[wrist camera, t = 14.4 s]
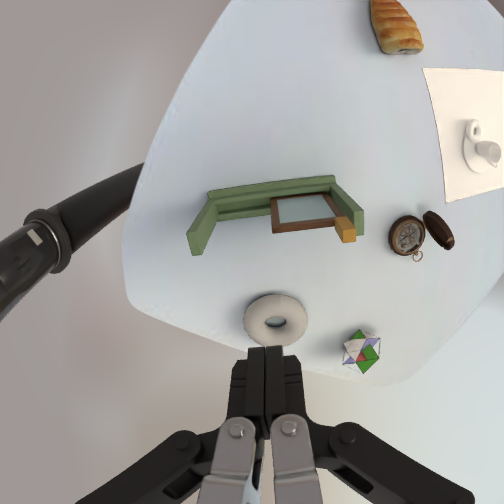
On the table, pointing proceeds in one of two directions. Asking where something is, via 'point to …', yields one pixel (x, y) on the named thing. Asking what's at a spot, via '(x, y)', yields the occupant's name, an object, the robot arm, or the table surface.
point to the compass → (419, 234)
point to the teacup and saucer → (469, 128)
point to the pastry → (395, 28)
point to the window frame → (264, 205)
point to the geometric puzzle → (361, 351)
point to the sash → (310, 214)
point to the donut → (275, 308)
